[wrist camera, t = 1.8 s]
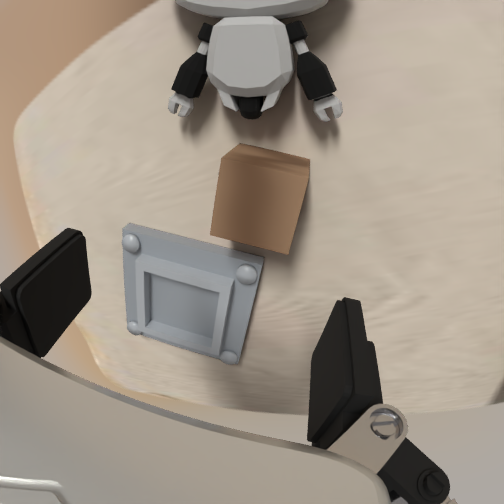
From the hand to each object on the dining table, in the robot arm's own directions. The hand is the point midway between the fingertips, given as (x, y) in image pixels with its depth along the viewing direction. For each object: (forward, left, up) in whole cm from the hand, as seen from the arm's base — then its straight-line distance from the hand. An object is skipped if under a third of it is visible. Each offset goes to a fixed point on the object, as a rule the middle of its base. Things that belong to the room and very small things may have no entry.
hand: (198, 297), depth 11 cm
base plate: (+4, +12, -14) cm, 19 cm away
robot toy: (+2, -12, -14) cm, 19 cm away
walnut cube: (-1, 0, -14) cm, 14 cm away
